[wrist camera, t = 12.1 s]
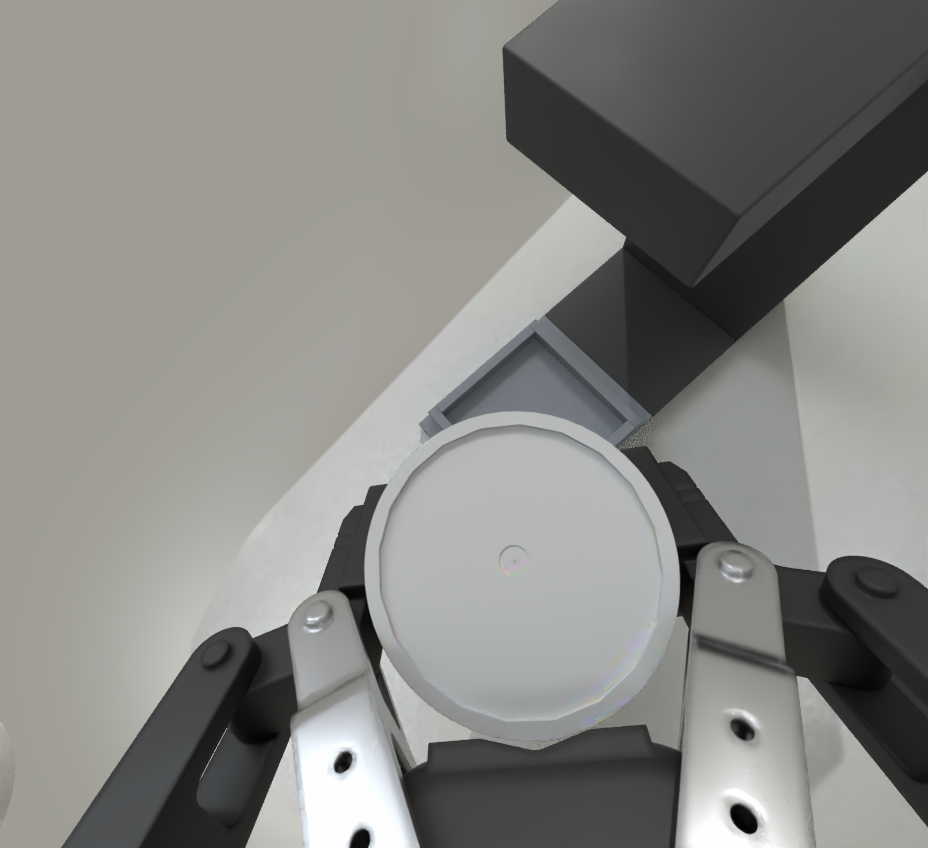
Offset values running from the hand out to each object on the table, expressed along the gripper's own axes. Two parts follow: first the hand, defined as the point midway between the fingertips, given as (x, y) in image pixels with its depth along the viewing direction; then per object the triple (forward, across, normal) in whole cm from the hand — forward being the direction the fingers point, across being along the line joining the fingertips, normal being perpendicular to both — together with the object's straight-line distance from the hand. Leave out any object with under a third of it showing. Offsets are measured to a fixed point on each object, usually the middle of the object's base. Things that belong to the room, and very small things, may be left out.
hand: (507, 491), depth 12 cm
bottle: (+7, 0, +9) cm, 12 cm away
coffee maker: (+24, -8, +7) cm, 26 cm away
